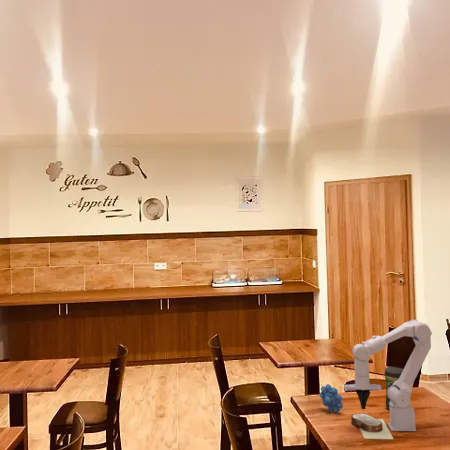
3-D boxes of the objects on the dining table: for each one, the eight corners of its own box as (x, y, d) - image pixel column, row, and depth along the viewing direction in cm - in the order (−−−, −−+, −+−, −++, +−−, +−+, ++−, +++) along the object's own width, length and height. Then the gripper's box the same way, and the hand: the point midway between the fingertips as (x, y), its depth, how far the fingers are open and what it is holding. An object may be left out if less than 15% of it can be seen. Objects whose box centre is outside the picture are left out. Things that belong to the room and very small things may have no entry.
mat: (382, 419, 208) (382, 419, 208) (393, 439, 188) (393, 438, 188) (356, 419, 209) (356, 418, 209) (364, 439, 189) (364, 438, 189)
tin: (370, 433, 193) (387, 431, 196) (370, 425, 193) (387, 423, 196) (347, 420, 207) (363, 419, 210) (347, 413, 207) (363, 411, 210)
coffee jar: (412, 409, 218) (410, 368, 219) (402, 414, 213) (401, 371, 214) (392, 404, 226) (391, 364, 226) (382, 408, 221) (381, 367, 221)
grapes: (315, 411, 220) (314, 384, 220) (323, 407, 224) (322, 381, 225) (337, 417, 212) (336, 389, 212) (345, 413, 216) (345, 386, 217)
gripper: (378, 371, 202) (379, 404, 202) (342, 371, 204) (343, 404, 204) (381, 376, 195) (383, 411, 195) (344, 376, 197) (346, 410, 197)
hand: (363, 408), depth 199 cm, fingers closed
